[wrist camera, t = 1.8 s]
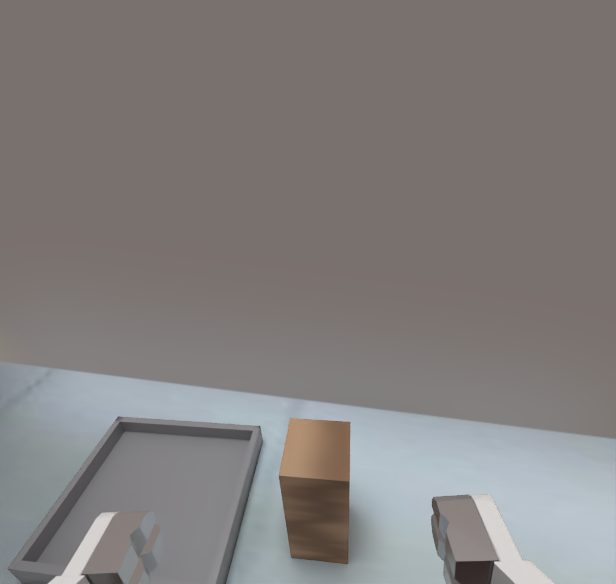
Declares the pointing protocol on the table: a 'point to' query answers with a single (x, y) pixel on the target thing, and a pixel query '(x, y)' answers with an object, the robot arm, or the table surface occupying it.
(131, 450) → the charcoal tray
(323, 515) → the walnut block
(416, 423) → the table surface
